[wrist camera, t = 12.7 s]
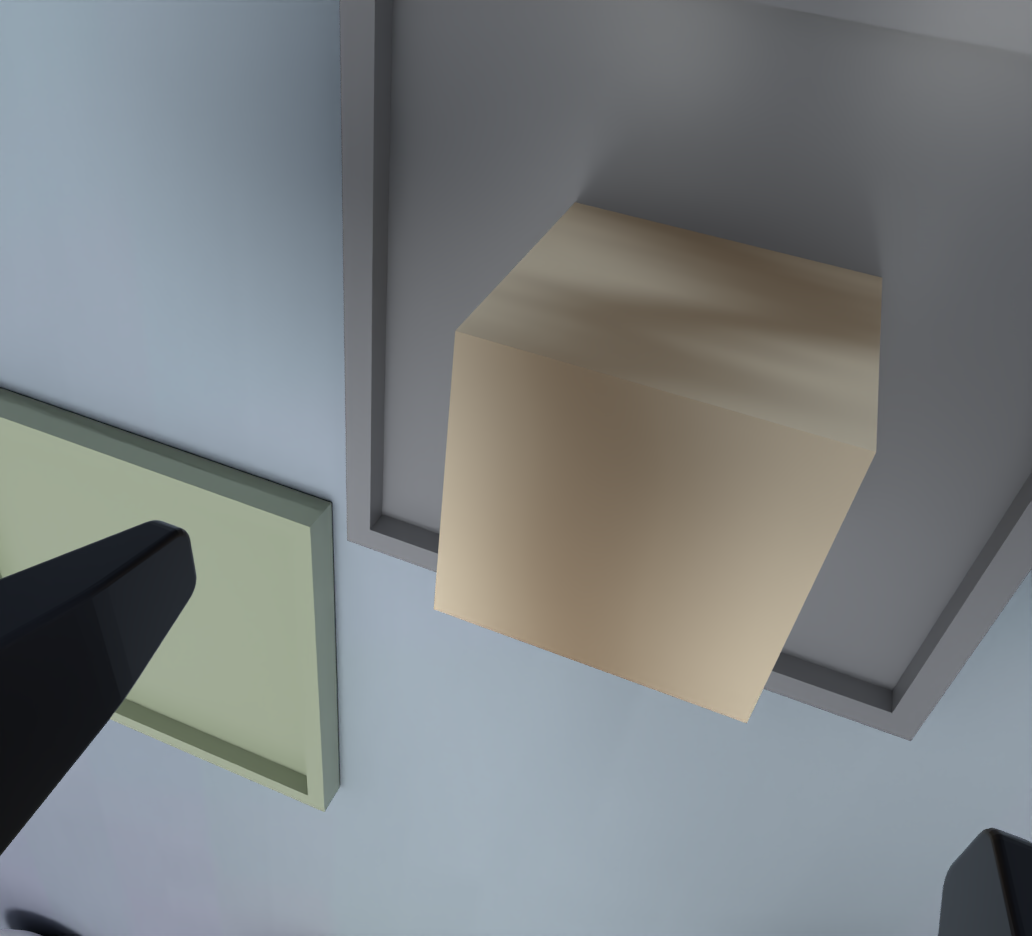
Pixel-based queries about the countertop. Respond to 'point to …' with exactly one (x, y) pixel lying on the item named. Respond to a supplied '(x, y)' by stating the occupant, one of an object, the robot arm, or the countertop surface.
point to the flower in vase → (16, 933)
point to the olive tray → (196, 590)
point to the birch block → (656, 450)
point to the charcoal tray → (733, 216)
